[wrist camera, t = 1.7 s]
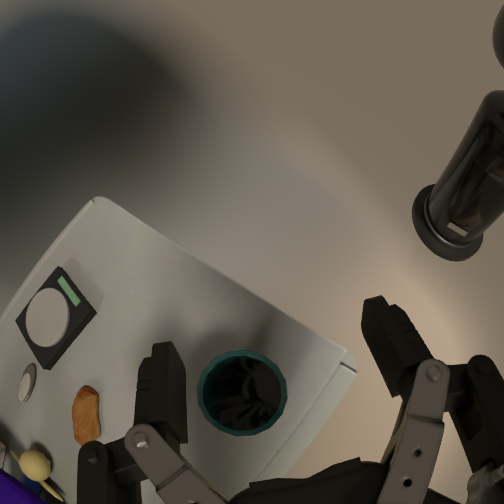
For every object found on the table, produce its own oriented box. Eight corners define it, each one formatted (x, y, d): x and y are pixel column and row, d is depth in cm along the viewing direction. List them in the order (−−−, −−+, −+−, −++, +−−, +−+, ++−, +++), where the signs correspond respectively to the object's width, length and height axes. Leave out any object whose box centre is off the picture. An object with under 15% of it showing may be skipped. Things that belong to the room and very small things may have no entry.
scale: (64, 270, 39) (56, 264, 37) (97, 313, 36) (88, 308, 34) (21, 323, 36) (12, 319, 34) (50, 370, 33) (40, 368, 31)
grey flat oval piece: (31, 361, 34) (26, 359, 33) (41, 368, 34) (36, 366, 33) (18, 397, 31) (13, 395, 30) (29, 405, 31) (23, 404, 30)
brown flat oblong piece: (66, 428, 30) (97, 450, 30) (57, 431, 28) (89, 454, 27) (83, 382, 32) (116, 403, 32) (74, 383, 30) (108, 406, 30)
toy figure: (28, 505, 24) (3, 504, 20) (17, 453, 29) (-7, 449, 25) (68, 511, 23) (41, 512, 19) (54, 451, 28) (27, 447, 25)
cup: (251, 352, 33) (236, 332, 21) (294, 386, 31) (305, 387, 19) (215, 393, 31) (179, 395, 20) (258, 428, 30) (246, 452, 18)
